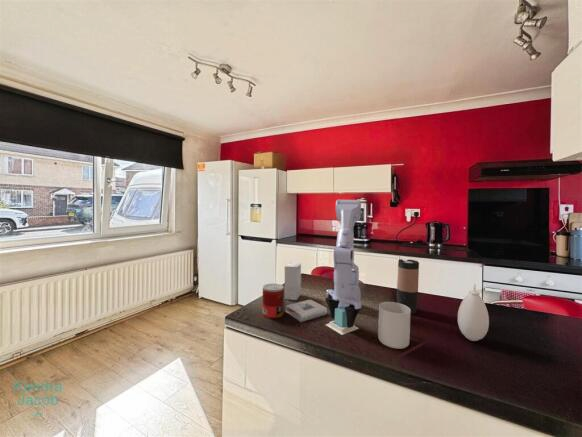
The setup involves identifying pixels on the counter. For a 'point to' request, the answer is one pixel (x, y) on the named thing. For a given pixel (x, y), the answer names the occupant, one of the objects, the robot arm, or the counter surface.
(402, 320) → the mug
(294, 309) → the port panel
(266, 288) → the canned food
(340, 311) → the plug
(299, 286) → the skincare box
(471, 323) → the sauce bottle
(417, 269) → the travel mug
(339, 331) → the white square dish
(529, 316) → the counter surface
